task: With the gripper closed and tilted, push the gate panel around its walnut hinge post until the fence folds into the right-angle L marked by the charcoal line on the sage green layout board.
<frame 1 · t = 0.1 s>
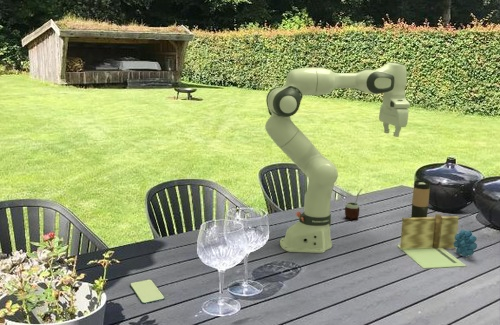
hand: (391, 134, 215), 48 cm above the table, tool pointing down, fingers open, 8 cm apart
grapes: (465, 257, 211), on the table
gate panel: (417, 232, 216), point 7 cm above the table, hinge at 0.0°
mate gourd: (352, 219, 256), on the table
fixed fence: (435, 248, 219), on the table
travel mug: (418, 221, 254), on the table
smartphone: (147, 293, 176), on the table
layout board: (429, 255, 211), on the table
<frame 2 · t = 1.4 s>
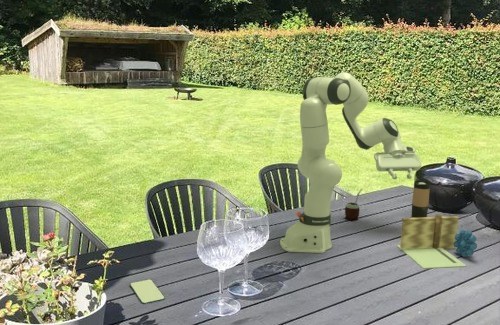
hand: (402, 178, 226), 27 cm above the table, tool tilted 45°, fingers open, 5 cm apart
nothing on the table moved.
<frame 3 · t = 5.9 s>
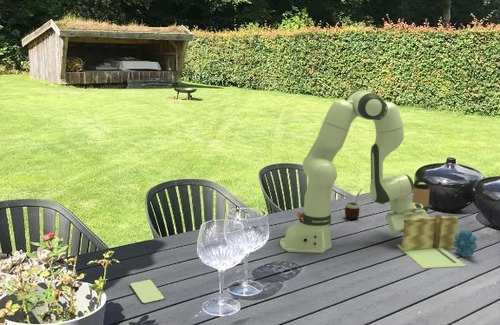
hand: (417, 238, 217), 4 cm above the table, tool tilted 45°, fingers closed
gate panel: (418, 233, 215), point 8 cm above the table, hinge at 5.7°, touching gripper
everything else where it was.
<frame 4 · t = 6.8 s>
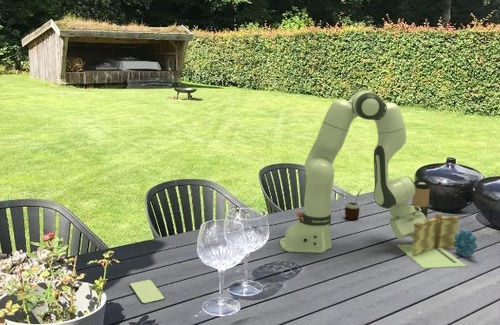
hand: (421, 242, 214), 4 cm above the table, tool tilted 45°, fingers closed, pressing on gate panel
gate panel: (424, 236, 212), point 8 cm above the table, hinge at 29.0°, touching gripper
everything else where it was.
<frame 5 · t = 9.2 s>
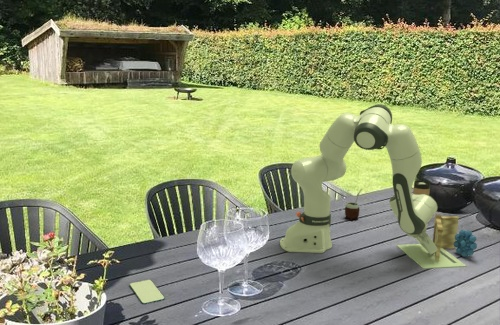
hand: (431, 253, 212), 1 cm above the table, tool tilted 35°, fingers closed, pressing on layout board
gate panel: (437, 239, 209), point 8 cm above the table, hinge at 64.9°, touching gripper
everything else where it was.
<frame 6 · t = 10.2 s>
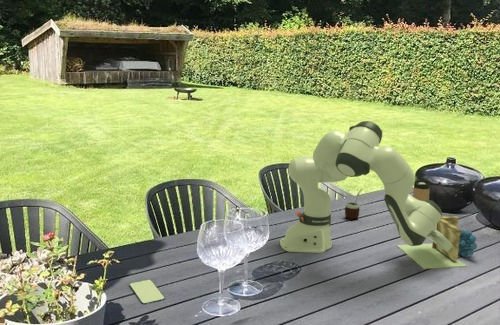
hand: (445, 247, 209), 4 cm above the table, tool tilted 45°, fingers closed
gate panel: (447, 239, 209), point 7 cm above the table, hinge at 91.8°, touching gripper
everything else where it was.
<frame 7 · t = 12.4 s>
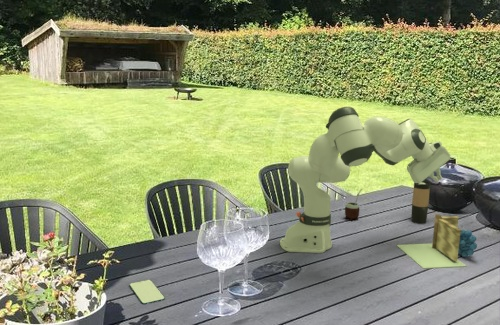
hand: (439, 179, 219), 29 cm above the table, tool tilted 35°, fingers closed
gate panel: (447, 239, 209), point 7 cm above the table, hinge at 91.8°
everything else where it was.
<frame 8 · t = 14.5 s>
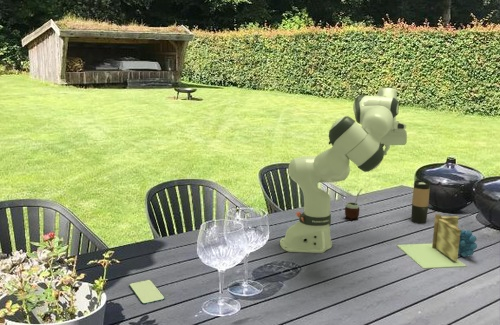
hand: (382, 155, 228), 37 cm above the table, tool pointing down, fingers closed
nothing on the table moved.
at the end: gate panel at +92° (first picture: +0°) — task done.
